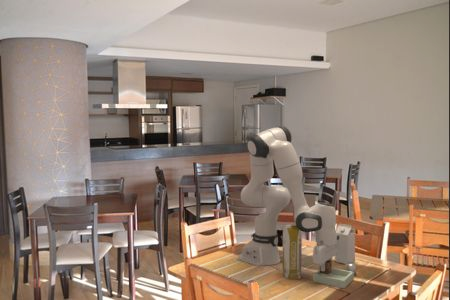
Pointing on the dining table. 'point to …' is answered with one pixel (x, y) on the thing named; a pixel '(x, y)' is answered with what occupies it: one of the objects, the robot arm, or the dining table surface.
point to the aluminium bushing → (351, 267)
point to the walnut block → (327, 267)
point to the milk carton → (345, 244)
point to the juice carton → (292, 252)
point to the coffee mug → (280, 235)
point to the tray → (334, 277)
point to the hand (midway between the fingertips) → (325, 269)
